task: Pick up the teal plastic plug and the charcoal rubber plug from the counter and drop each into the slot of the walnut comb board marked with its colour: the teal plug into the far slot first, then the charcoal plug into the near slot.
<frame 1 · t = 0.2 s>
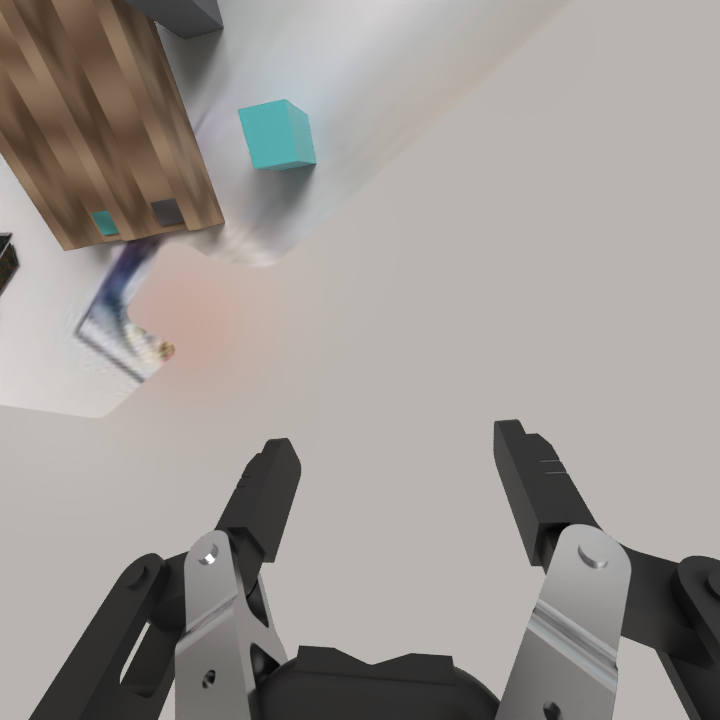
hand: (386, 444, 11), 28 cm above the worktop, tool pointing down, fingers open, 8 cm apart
charcoal plug: (194, 0, 25), on the worktop
teal plug: (293, 143, 30), on the worktop
comb board: (113, 131, 31), on the worktop
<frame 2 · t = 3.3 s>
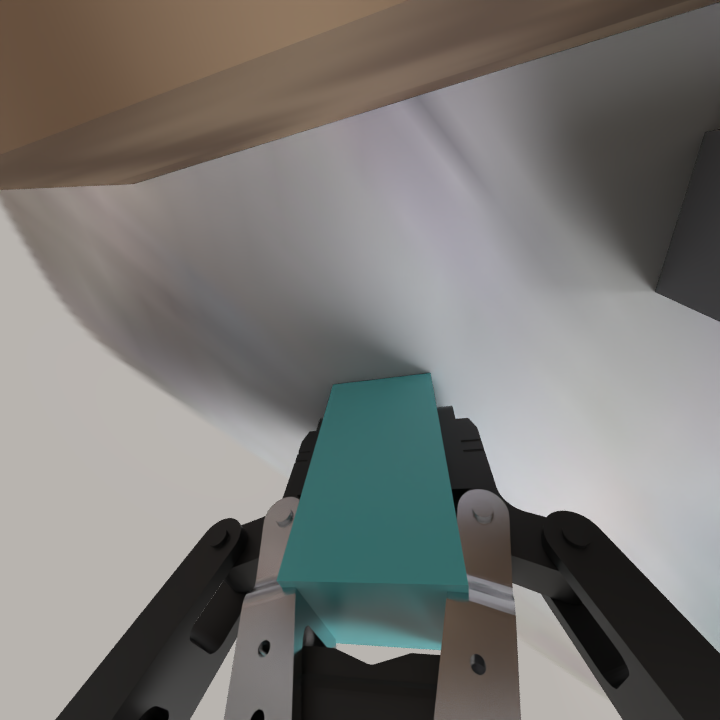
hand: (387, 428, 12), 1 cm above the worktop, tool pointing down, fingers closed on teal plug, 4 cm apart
teal plug: (388, 415, 13), on the worktop, touching gripper
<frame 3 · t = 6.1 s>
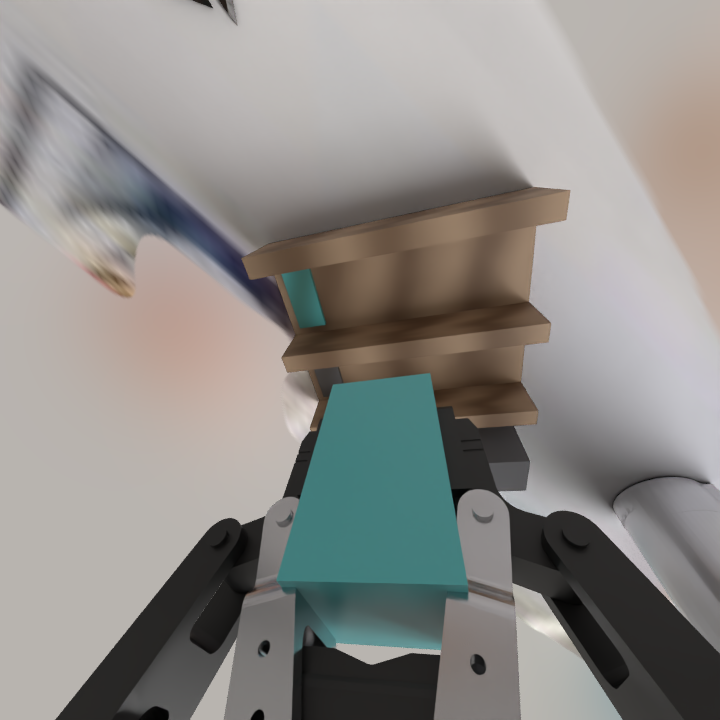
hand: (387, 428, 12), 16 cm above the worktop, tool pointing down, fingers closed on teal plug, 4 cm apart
charcoal plug: (483, 421, 32), on the worktop
teal plug: (388, 415, 13), point 15 cm above the worktop, touching gripper
comb board: (403, 322, 26), on the worktop
when the fingers open (3 cm above the worktop, at t = 9.0 s): teal plug drops 1 cm, resting on comb board.
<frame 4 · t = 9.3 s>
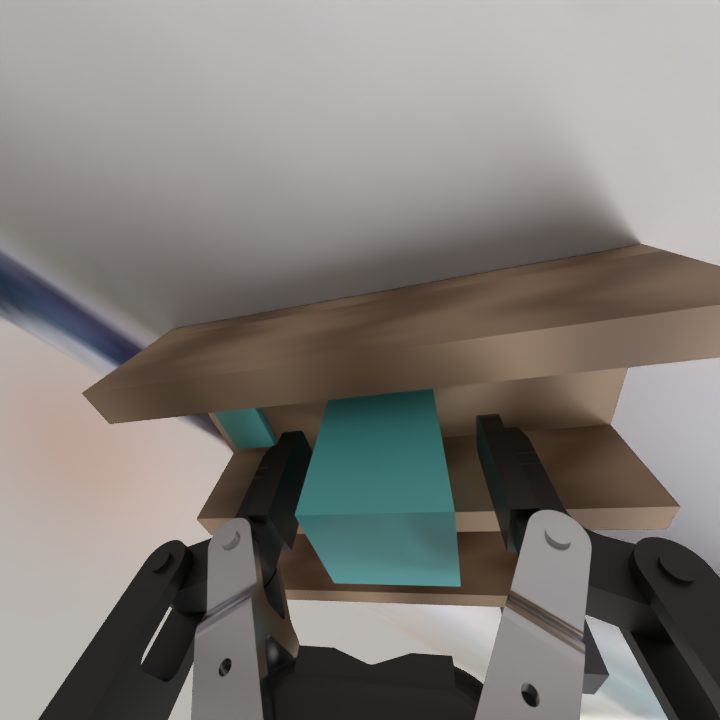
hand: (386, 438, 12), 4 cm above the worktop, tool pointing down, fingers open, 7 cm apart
charcoal plug: (516, 547, 22), on the worktop
teal plug: (388, 394, 14), point 1 cm above the worktop, touching comb board
comb board: (399, 436, 17), on the worktop
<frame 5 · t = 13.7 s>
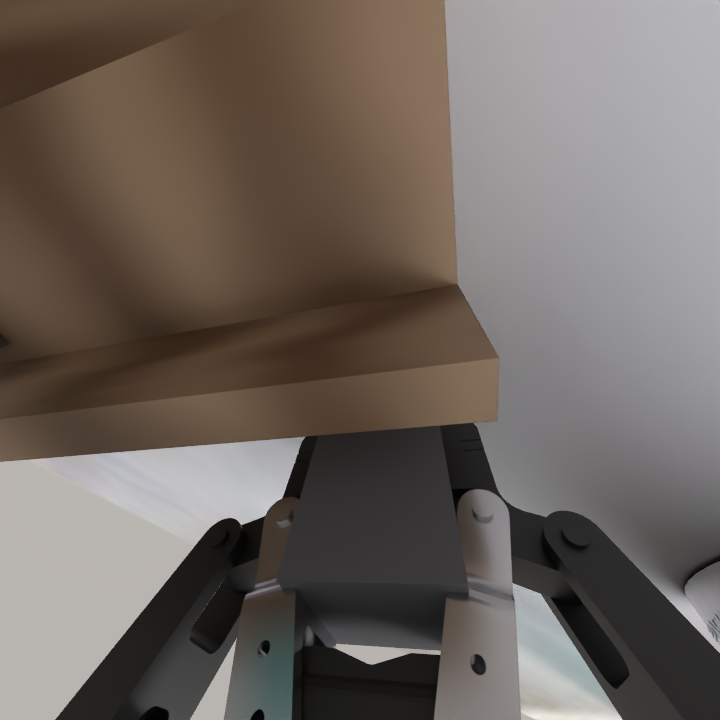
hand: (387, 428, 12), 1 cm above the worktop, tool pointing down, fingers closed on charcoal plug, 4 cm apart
charcoal plug: (388, 415, 13), on the worktop, touching gripper
comb board: (36, 71, 8), on the worktop
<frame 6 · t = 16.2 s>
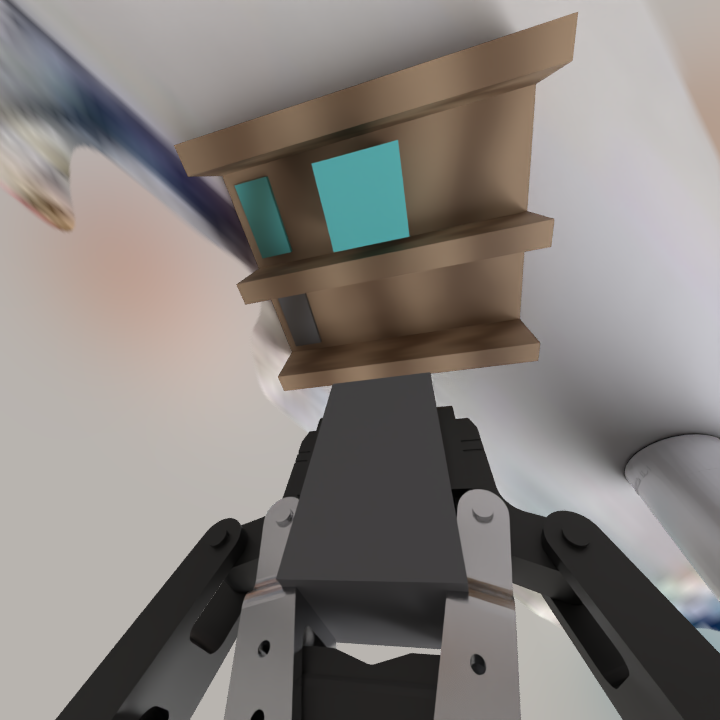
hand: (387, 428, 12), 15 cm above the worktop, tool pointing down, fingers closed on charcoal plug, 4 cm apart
charcoal plug: (388, 414, 13), point 14 cm above the worktop, touching gripper
teal plug: (372, 193, 20), point 1 cm above the worktop, touching comb board
comb board: (382, 249, 23), on the worktop
when the fingers open (3 cm above the worktop, at t = 18.7 s): charcoal plug drops 1 cm, resting on comb board.
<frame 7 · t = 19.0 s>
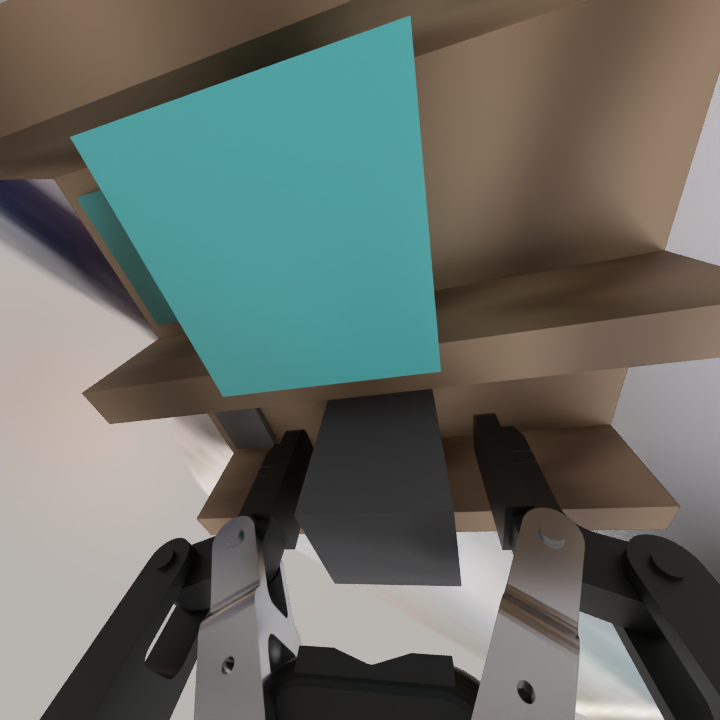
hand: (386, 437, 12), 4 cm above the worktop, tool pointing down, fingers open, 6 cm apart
charcoal plug: (388, 394, 14), point 1 cm above the worktop, touching comb board
teal plug: (349, 213, 10), point 1 cm above the worktop, touching comb board
comb board: (373, 309, 13), on the worktop
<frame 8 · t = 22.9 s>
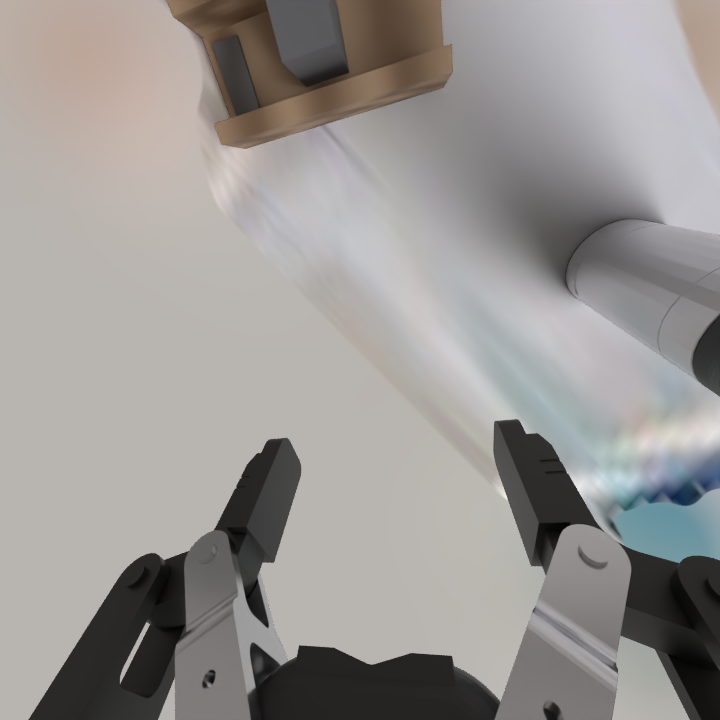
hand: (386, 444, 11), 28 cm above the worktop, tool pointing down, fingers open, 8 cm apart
charcoal plug: (321, 49, 25), point 1 cm above the worktop, touching comb board
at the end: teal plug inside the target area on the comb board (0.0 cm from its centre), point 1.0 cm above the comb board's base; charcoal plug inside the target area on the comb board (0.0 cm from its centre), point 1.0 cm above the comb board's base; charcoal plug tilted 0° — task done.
